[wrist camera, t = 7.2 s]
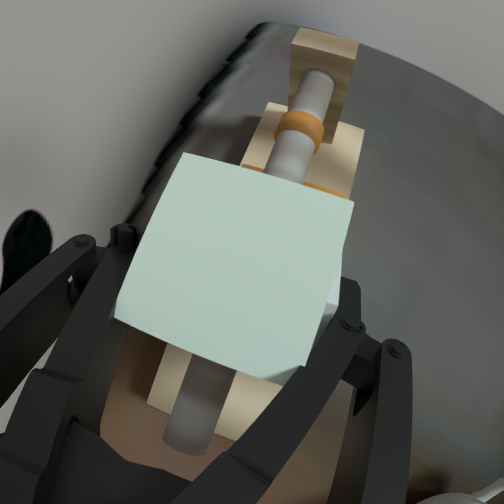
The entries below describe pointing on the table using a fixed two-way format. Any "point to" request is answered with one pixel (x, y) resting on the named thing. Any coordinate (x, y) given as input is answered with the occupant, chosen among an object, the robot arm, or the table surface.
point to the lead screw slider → (289, 168)
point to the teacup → (475, 500)
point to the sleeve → (236, 267)
